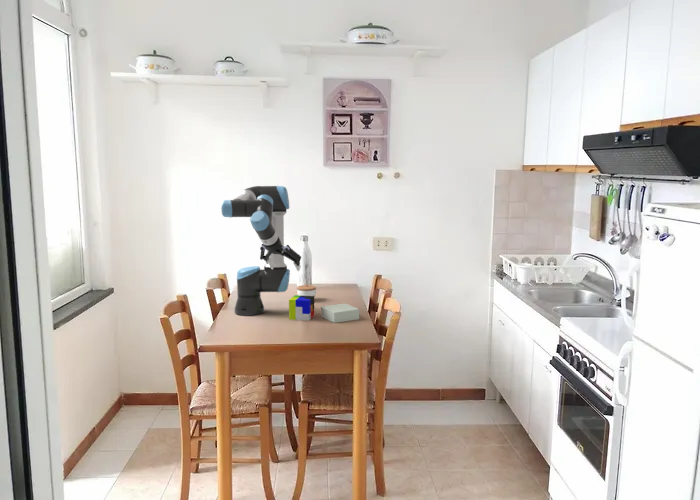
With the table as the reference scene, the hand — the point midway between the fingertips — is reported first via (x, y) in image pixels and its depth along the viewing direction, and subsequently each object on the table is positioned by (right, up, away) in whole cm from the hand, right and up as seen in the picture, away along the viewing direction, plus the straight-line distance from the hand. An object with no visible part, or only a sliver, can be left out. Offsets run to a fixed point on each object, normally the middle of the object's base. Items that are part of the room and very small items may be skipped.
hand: (286, 268), depth 259 cm
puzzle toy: (+6, -25, +15) cm, 30 cm away
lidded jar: (+6, -20, +51) cm, 55 cm away
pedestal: (+25, -25, +14) cm, 38 cm away
